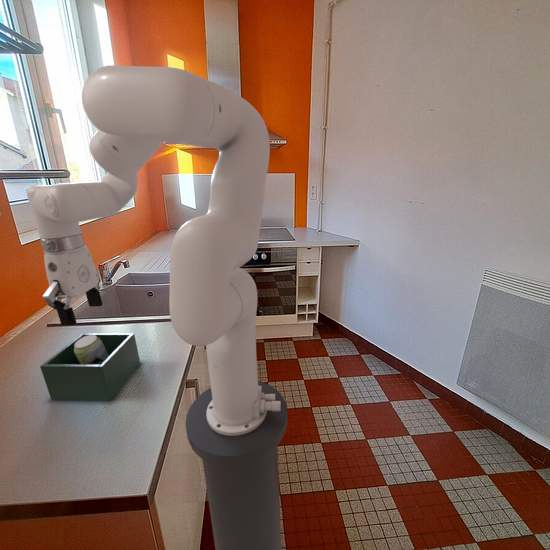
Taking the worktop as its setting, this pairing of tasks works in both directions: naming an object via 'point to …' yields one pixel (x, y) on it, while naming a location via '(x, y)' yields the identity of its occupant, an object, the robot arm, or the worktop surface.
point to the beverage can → (90, 350)
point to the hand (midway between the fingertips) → (83, 314)
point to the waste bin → (92, 370)
